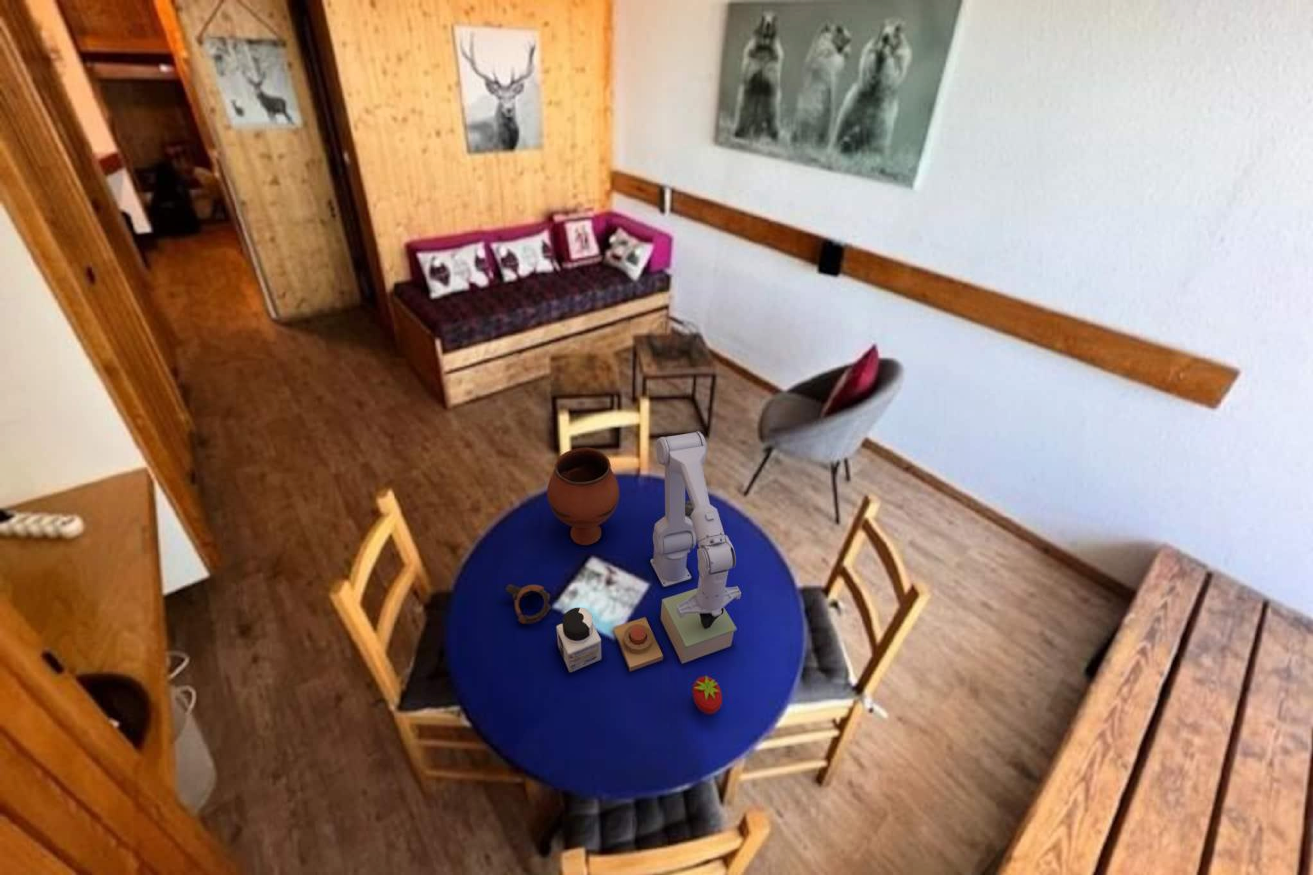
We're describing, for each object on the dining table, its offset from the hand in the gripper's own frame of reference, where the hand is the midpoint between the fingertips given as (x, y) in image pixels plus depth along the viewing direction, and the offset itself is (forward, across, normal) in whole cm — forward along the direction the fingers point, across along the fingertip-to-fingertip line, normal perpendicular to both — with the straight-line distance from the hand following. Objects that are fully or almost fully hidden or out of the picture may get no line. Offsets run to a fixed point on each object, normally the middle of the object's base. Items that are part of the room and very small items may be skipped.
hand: (705, 624), depth 129 cm
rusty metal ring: (+8, -35, +24) cm, 44 cm away
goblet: (+8, -15, +44) cm, 47 cm away
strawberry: (+8, -6, -14) cm, 17 cm away
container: (+8, -27, +8) cm, 30 cm away
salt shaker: (+8, +12, +34) cm, 37 cm away
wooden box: (+8, 0, +4) cm, 9 cm away
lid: (+1, 0, +4) cm, 4 cm away
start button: (+5, -14, +6) cm, 16 cm away
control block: (+8, -14, +6) cm, 17 cm away
